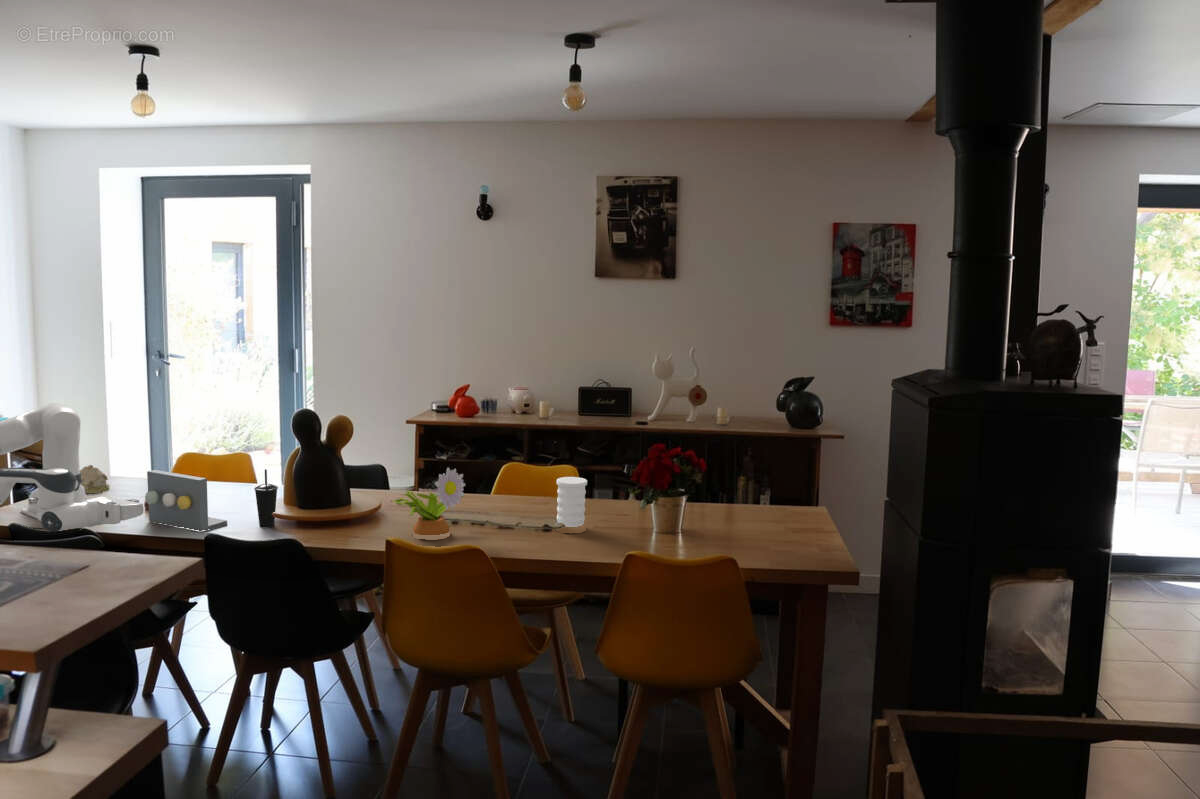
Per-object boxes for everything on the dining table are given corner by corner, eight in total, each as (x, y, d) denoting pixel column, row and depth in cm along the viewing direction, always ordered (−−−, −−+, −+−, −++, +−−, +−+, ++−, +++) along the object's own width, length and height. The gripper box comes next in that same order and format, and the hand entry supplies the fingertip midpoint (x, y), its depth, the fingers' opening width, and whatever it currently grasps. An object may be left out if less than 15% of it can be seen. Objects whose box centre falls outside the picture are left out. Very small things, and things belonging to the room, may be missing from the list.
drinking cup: (253, 529, 300) (252, 472, 297) (256, 523, 307) (255, 467, 305) (277, 528, 302) (276, 471, 299) (279, 522, 309) (278, 466, 307)
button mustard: (177, 508, 294) (177, 495, 294) (182, 507, 296) (182, 494, 296) (186, 510, 293) (186, 497, 292) (191, 509, 294) (191, 496, 294)
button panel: (149, 522, 305) (147, 471, 302) (176, 514, 315) (174, 465, 312) (201, 532, 295) (199, 480, 292) (227, 524, 305) (225, 474, 302)
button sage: (145, 503, 299) (144, 491, 299) (150, 502, 301) (150, 490, 300) (154, 505, 297) (154, 492, 297) (159, 504, 299) (159, 491, 299)
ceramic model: (116, 489, 349) (115, 464, 348) (90, 495, 339) (89, 469, 338) (91, 485, 354) (90, 460, 353) (65, 490, 344) (64, 465, 343)
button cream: (162, 505, 297) (162, 493, 297) (167, 504, 299) (167, 491, 298) (172, 507, 295) (171, 494, 295) (177, 506, 297) (176, 493, 297)
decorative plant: (427, 549, 284) (427, 474, 280) (377, 535, 297) (377, 463, 294) (484, 531, 306) (485, 461, 302) (434, 519, 319) (435, 452, 316)
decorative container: (558, 535, 305) (559, 484, 302) (551, 525, 316) (552, 477, 313) (590, 533, 308) (591, 483, 305) (582, 524, 319) (583, 476, 316)
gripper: (76, 516, 285) (115, 506, 298) (119, 524, 277) (157, 514, 289) (75, 497, 284) (114, 488, 297) (118, 505, 276) (157, 496, 289)
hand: (136, 501), depth 293 cm, fingers closed
